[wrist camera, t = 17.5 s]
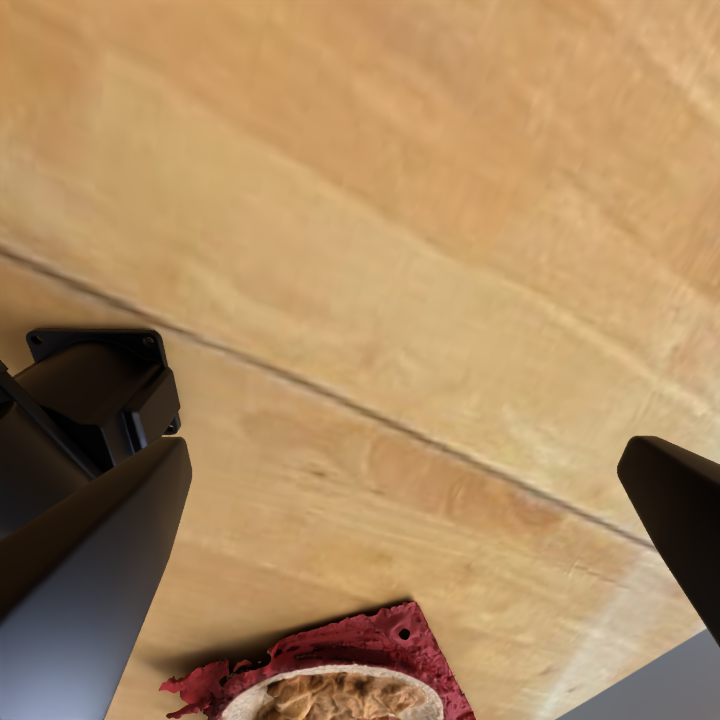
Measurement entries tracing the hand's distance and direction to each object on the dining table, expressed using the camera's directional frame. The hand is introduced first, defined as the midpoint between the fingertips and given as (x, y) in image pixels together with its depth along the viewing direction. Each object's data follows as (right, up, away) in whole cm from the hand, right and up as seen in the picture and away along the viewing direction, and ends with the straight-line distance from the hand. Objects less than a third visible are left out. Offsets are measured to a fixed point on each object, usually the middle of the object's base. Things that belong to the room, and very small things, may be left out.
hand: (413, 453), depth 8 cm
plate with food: (-3, -32, +31) cm, 45 cm away
